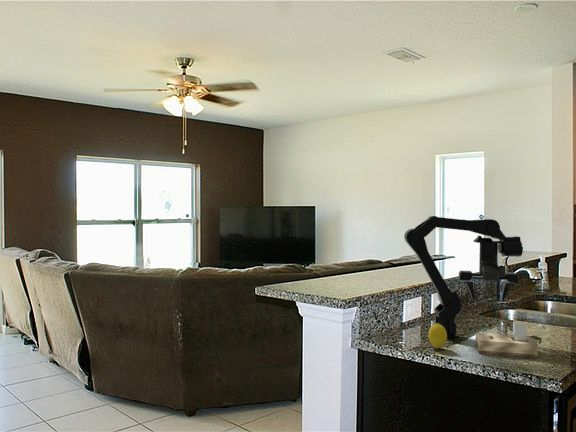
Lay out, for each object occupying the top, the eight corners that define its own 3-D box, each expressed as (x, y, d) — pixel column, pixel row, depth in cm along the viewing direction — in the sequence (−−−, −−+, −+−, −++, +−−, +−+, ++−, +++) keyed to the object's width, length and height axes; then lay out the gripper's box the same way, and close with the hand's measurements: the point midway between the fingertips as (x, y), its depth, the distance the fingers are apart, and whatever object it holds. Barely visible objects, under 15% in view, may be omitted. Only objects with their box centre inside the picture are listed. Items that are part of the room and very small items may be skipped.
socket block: (479, 353, 150) (479, 340, 150) (475, 345, 160) (475, 332, 160) (537, 358, 146) (537, 344, 146) (530, 349, 156) (530, 336, 156)
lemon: (434, 352, 152) (435, 325, 152) (424, 347, 157) (425, 321, 157) (450, 350, 153) (450, 324, 153) (440, 345, 159) (440, 320, 158)
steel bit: (514, 350, 151) (515, 323, 151) (512, 347, 154) (512, 321, 154) (526, 350, 150) (526, 324, 150) (523, 348, 153) (524, 322, 153)
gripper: (461, 257, 164) (460, 304, 165) (523, 259, 160) (522, 308, 160) (458, 254, 175) (458, 298, 175) (516, 256, 170) (515, 301, 171)
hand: (487, 301), depth 170 cm, fingers open, 9 cm apart
